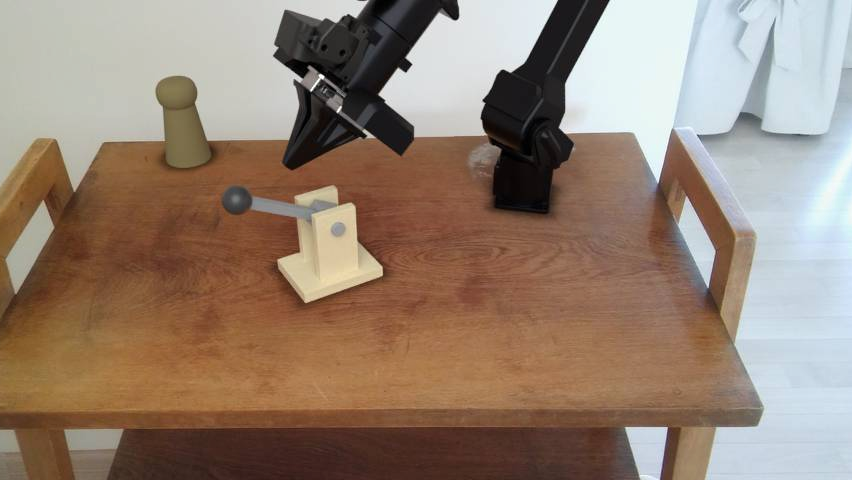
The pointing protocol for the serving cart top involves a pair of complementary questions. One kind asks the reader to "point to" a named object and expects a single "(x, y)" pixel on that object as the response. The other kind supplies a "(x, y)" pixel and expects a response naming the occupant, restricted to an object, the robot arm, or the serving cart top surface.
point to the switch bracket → (328, 250)
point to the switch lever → (268, 204)
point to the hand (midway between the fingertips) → (286, 167)
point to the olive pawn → (182, 123)
